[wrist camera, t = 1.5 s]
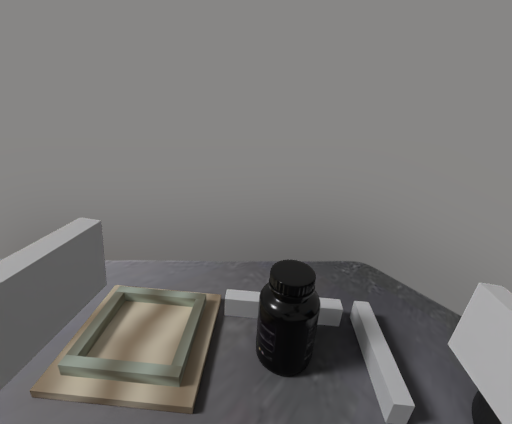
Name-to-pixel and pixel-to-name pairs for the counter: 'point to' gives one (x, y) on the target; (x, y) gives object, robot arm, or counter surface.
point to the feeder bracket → (370, 341)
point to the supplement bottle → (287, 318)
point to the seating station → (136, 351)
